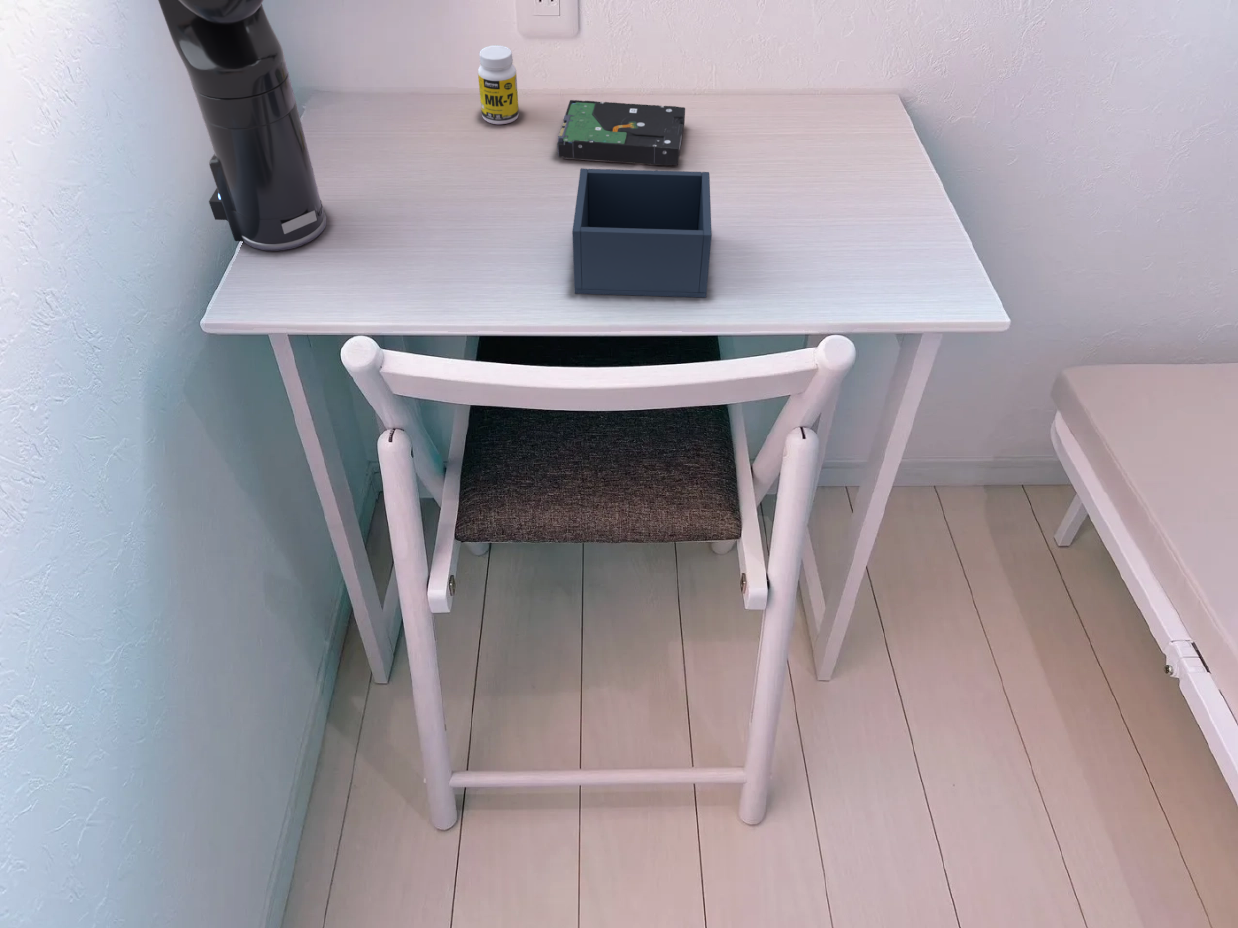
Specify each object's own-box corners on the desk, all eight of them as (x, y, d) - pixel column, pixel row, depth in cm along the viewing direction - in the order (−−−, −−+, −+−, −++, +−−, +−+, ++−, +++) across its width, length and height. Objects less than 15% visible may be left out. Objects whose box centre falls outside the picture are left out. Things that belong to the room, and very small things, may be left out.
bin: (574, 293, 101) (572, 231, 96) (582, 229, 109) (580, 168, 104) (706, 297, 101) (711, 235, 95) (704, 233, 109) (709, 171, 103)
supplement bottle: (483, 126, 124) (476, 62, 118) (481, 108, 128) (474, 44, 121) (520, 124, 125) (516, 59, 119) (517, 106, 128) (513, 42, 122)
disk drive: (684, 126, 125) (569, 118, 126) (685, 106, 123) (568, 97, 124) (678, 169, 118) (556, 160, 119) (680, 148, 116) (556, 139, 117)
